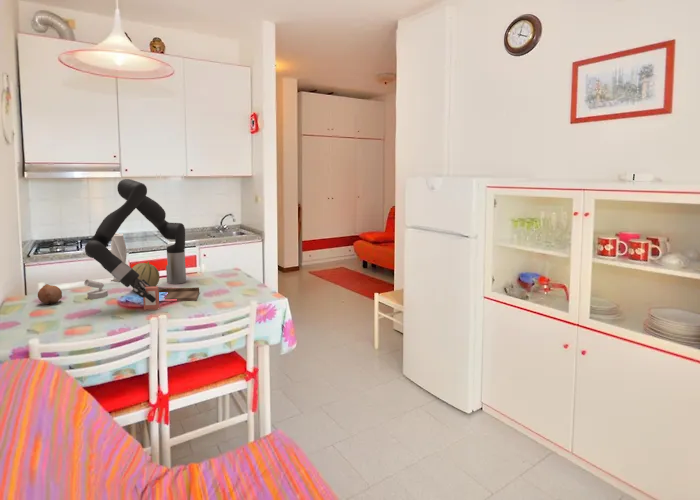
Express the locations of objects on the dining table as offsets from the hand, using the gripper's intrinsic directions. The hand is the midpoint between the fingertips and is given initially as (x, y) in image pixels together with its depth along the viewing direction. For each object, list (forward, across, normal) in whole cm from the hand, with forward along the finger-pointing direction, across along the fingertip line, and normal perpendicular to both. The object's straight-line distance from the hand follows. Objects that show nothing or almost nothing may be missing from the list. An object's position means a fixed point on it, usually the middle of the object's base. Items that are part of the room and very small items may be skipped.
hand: (155, 299), depth 203 cm
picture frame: (+2, 0, +4) cm, 5 cm away
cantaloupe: (-5, +31, +12) cm, 34 cm away
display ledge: (+7, +16, -1) cm, 18 cm away
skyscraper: (-18, +55, +24) cm, 63 cm away
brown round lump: (-31, +14, +38) cm, 51 cm away
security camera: (-20, +23, +26) cm, 40 cm away
